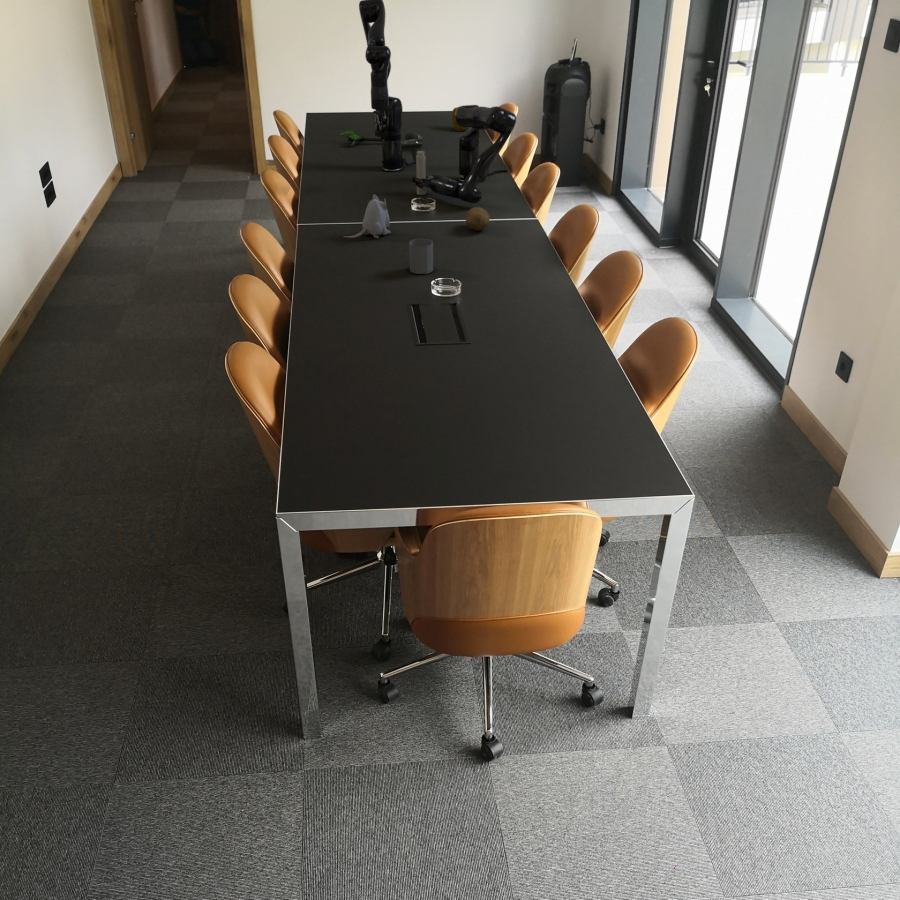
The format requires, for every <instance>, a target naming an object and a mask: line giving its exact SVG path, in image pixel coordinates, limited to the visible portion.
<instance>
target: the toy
mask: <svg viewBox="0 0 900 900" xmlns="http://www.w3.org/2000/svg"><path fill="white" fill-rule="evenodd" d="M383 200H384V201H383ZM383 200H380V199H379V197H378V196H377V195H376V193H373V194H372V199H370V200H369V202H368V203H367V206H366V207H365V208H366V209H365V213H364V215H363V219H362V223H361V225H362V230H361V231H359V232H358V233H356V234H354V235H348V236H347V235H343V238H348V239H356V238H358V237H360V236H363V235H365V236H368V235H372V236H373V238H374V239H380V237H379V236H380V235H382V236H386V235H391V234H392V231H391V230H389V227H390V225H391V222H390V221H391V220H390V216H389V211H388V207H387V200H386V198H384V199H383Z"/></svg>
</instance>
